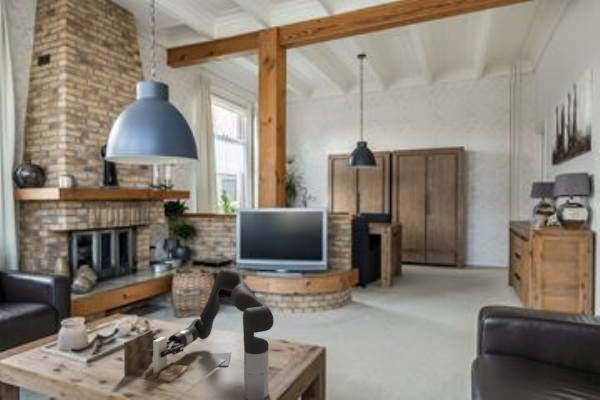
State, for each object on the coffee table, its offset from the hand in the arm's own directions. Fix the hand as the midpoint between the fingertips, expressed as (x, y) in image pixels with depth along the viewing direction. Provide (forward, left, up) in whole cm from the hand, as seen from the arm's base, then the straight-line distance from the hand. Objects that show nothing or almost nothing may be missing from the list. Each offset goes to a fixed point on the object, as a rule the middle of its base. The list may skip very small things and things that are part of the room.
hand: (155, 354), depth 168 cm
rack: (+2, -1, -10) cm, 10 cm away
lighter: (+25, +10, -10) cm, 29 cm away
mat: (+14, -22, -10) cm, 28 cm away
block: (+2, -1, -9) cm, 9 cm away
